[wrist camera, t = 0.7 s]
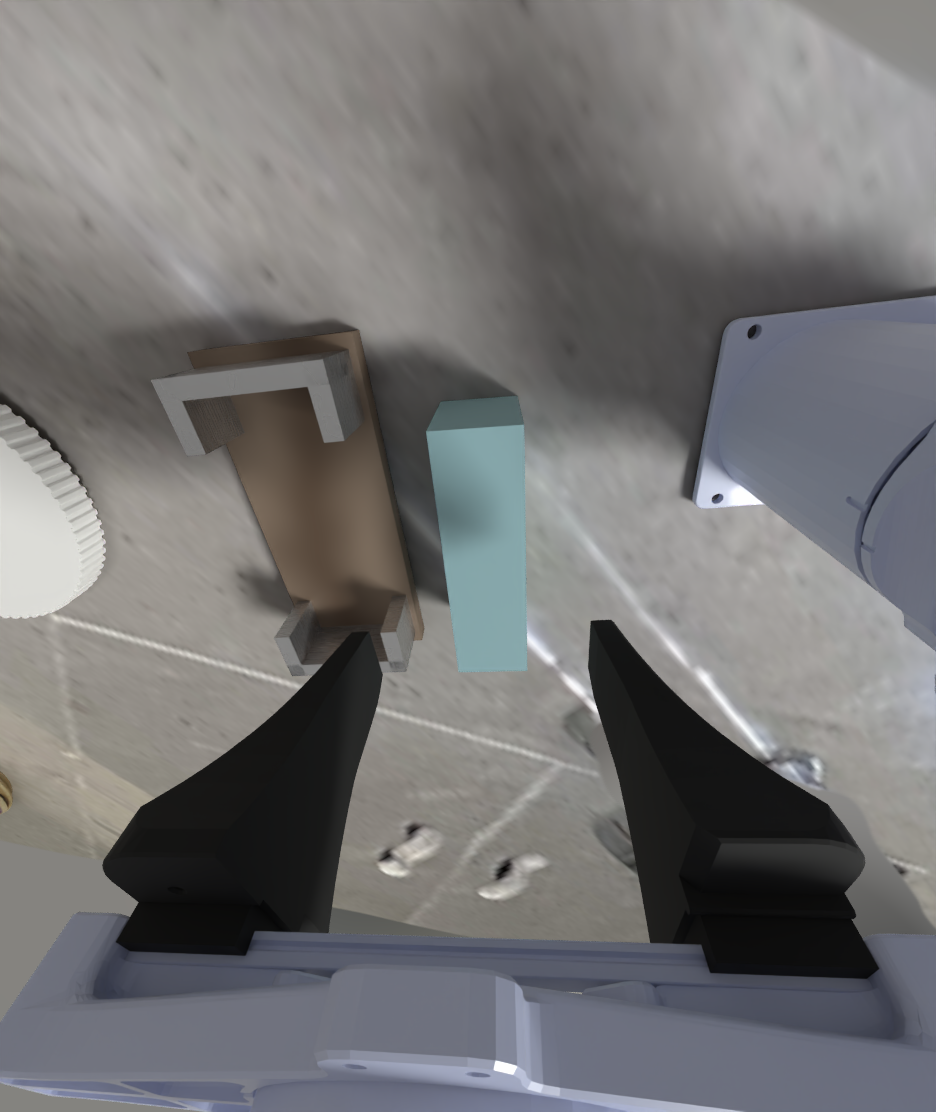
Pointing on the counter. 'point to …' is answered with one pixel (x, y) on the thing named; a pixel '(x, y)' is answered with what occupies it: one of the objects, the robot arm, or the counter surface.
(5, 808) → the toy sandwich meal
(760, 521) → the counter surface
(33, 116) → the counter surface
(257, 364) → the end caps
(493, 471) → the teal rectangular block
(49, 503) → the plastic lid
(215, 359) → the end cap board
